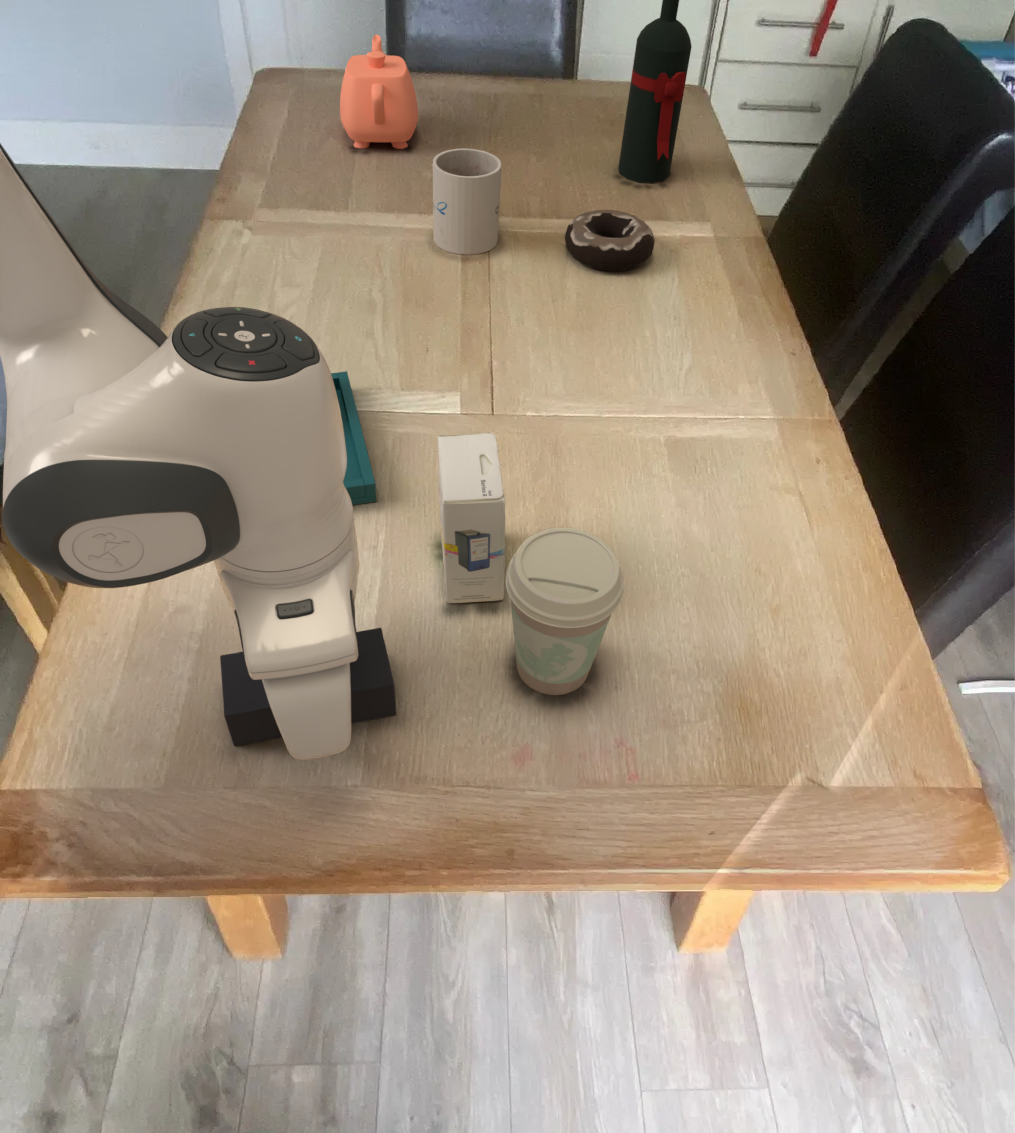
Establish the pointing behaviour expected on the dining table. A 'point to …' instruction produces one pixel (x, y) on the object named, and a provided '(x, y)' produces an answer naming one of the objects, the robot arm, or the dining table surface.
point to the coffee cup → (561, 605)
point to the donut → (609, 240)
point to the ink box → (471, 517)
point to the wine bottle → (655, 98)
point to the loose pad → (252, 708)
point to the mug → (466, 201)
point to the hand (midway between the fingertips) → (312, 680)
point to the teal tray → (354, 445)
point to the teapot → (378, 99)
